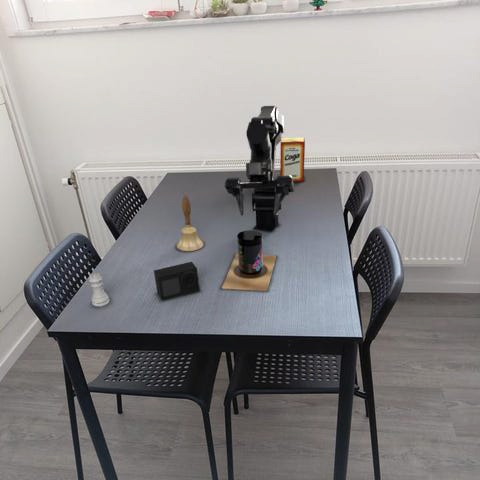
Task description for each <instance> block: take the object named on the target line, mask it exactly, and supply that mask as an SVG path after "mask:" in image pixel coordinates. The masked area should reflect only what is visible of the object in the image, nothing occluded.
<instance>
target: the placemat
mask: <svg viewBox="0 0 480 480" xmlns="http://www.w3.org/2000/svg"><path fill="white" fill-rule="evenodd" d="M262 255H263V269H262V271H261V272H259V273H257V274H254V275H247V274H243V273H242V272H241V271H240V270H239V260H238V253H236V254H235V256H234V258H233V260H232V263H231V266H230V267H229V270H228V273H227V274H226V277H225V278H224V281H223V283H222V286H221V289H223V290H242V291H257V292H258V291H259V292H268V289H269V287H270V282H271V278H272V274H273V271H274V266H275V264H276V263H275V262H276V260H277V255H276V254H262Z"/></svg>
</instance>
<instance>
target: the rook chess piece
mask: <svg viewBox="0 0 480 480" xmlns="http://www.w3.org/2000/svg"><path fill="white" fill-rule="evenodd" d="M102 281H103V276H101V274H100V273H98V272H96V273H95V272H94V273H92V274H90V275H89V278H88V282H90V283H91V284H90V287H92V296H91V304H92V305H93V306H94V307H96V308H103V307H105V306H108V305H109V303H110V301H111V300H110V298H109V294H107V292H105V290H104V287H103V282H102Z"/></svg>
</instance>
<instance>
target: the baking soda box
mask: <svg viewBox="0 0 480 480" xmlns="http://www.w3.org/2000/svg"><path fill="white" fill-rule="evenodd" d="M305 139H306V138H305V137H282V138H281V141H280V160H279V161H280V163H279V164H280V167H279V168H280V172H279V174H280V175H279V176H287V175H290V176H291V177H292V179H293V182H304V181H305V154H306V140H305Z"/></svg>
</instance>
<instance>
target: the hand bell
mask: <svg viewBox="0 0 480 480" xmlns="http://www.w3.org/2000/svg"><path fill="white" fill-rule="evenodd" d="M181 209H182V213H183V216H184V224H185V227H183V228H182V229H181V231H180V232H181V233H180V234H181V235H180V239H179V241H178V242H177V244H176V248H177V249H178V250H180V251H182V252H194V251H199V250H200V249H202V248H203V247H204V242H203V240H201V239H200V238H199V236H198V232H197V229H196V228H195V227H193V226H192V222H191V220H192V219H191V212H192V205H191V201H190V199H189V196H188V195H183V196H182V201H181Z"/></svg>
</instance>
